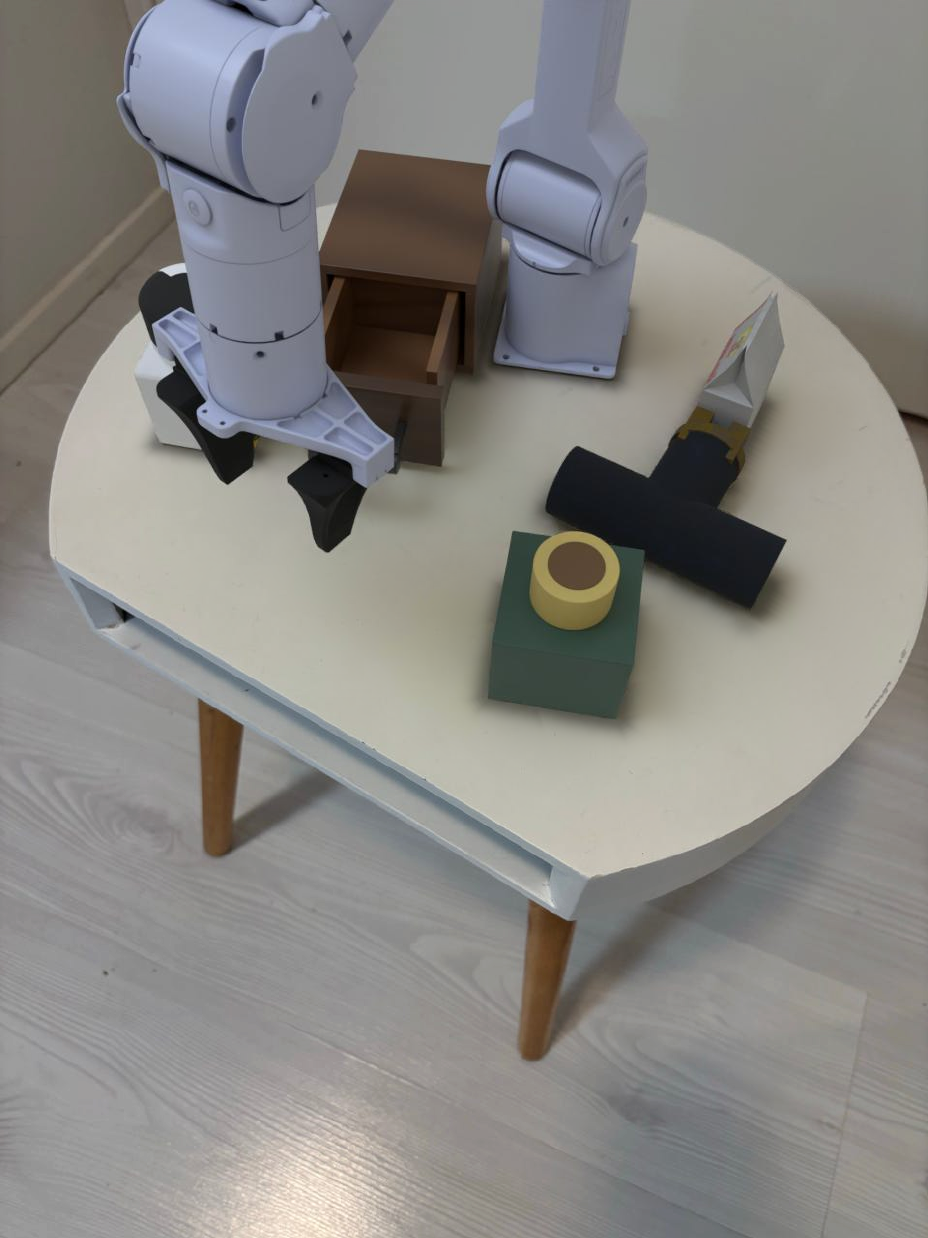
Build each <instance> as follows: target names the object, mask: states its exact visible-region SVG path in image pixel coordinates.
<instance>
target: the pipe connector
mask: <svg viewBox="0 0 928 1238" xmlns="http://www.w3.org/2000/svg"><path fill="white" fill-rule="evenodd" d="M714 414H715V413H713V412H711V411H708V410H706V409H704V408H701V407H699V406H697V405H696V406H695V408H694V409H693V411H692V413H691V414H690V415H689V417H688V419H687V420H686V422H685V423H683V424H681V425H680V426H679V427H678V428H677V429H676V430H675V431H674V433H673V435H671V437H670V440H669V441H668V444H667V449H666V450H665V452H664V453H663V455H662V456H661V458H659V461H658V463H657V464H656V465H655V466H654V468H653V470H652V472H651V473H650V475H649V477H648V476H646V475H644V474H642V473H639V472H637V471H635V470H633V469H631V468H628V467H626V466H624V465H621V464H620V463H617V462H615V461H613V460H610V459H609V458H606V457H604V456H602V455H600V454H598V453H595V452H593V451H591V450H588V449H586V448H584V447H581V446H579V445H575V446H574V447H573V448H572V449H571V450H570V451H569V452H568V453H567V455H566V456H565V457H564V459H563V460H562V462H561V464H560V465H559V467H558V470H557V471H556V474H555V475H554V478H553V480H552V483H551V485H550V487H549V490H548V492H547V496H546V500H545V513H546V514H548V515H550V516H552V517H554V518H556V519H559V520H561V521H563V522H564V523H567V524H569V525H571V526H573V527H575V528H577V529H580V530H582V531H583V532H585V533H589V534H592V535H594V536H596V537H598V538H600V539H602V540H603V541H604V542H606V543H609V544H610V545H613V546H620V547H627V548H633V549H640V550H644V551H645V555H644V561H647V562H649V563H651V564H653V565H655V566H658V568H659V567H660V568H661V569H664V570H666V571H667V572H670V573H672V574H674V575H677V576H679V577H681V578H683V579H685V580H687V581H689V582H691V583H693V584H695V585H698V586H700V587H702V588H703V589H705V590H708V591H711V592H712V593H714V594H717V595H718V596H721V597H723V598H725V599H726V600H729V601H731V602H733V603H736V604H738V605H740V606H741V607H744V608H746V609H749V610H752V609H753V607H754V605H755V603H756V601H757V599H758V597H759V595H760V594H761V592H762V590H763V588H764V586H765V584H766V582H767V580H768V578H769V577H770V574H771V573H772V570H773V569H774V567H775V565H776V563H777V561H778V559H779V557H780V555H781V553H782V551H783V549H784V547H785V545H786V543H787V541H788V539H786V538H784V537H781V536H779V535H777V534H775V533H773V532H770V531H768V530H766V529H763V528H761V527H760V526H757V525H755V524H753V523H751V522H749V521H745V520H744V519H741V518H739V517H737V516H735V515H732V514H731V513H728V512H727V511H724V510H722V509H719V506H720V504H721V502H722V501H723V499H724V497H725V496H726V494H727V492H728V490H729V488H730V487H731V485H733V484H734V483H735V482H736V480H737V479H738V477H739V476H740V474H741V472H742V470H743V469H744V467H745V464H746V454H745V451H744V447H745V445H746V443H747V441H748V439H749V436H750V433H751V431H752V427H751V428H748V427H746V426H744V425H741V424H739V423H737V422H734V421H733V422H732V423H731V425H730V427H729V428H728V430H725V429H724V428H722V427H720V426H718V425H715V424H712V420H713V417H714Z"/></svg>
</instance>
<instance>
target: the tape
mask: <svg viewBox="0 0 928 1238" xmlns="http://www.w3.org/2000/svg"><path fill="white" fill-rule="evenodd" d="M551 536H552V537H550V538H549V539H547V540H546V541H545V542H543V543H542V544H541V546H540V547H539V548H538V550H537V551H536V554H535V556H534V560H533V567H532V575H531V583H530V591H529V594H530V600H531V603H532V606H533V608H534V610H535V611H536V612H537V614H538V615H539V616H540V617H541V618H542V619H543V620H545V621H546V622H547V623H549V624H551V625H553V626H555V627H558V628H561V629H566V630H581V629H586V628H589V627H592V626H594V625H595V624H597V623H599V622H600V621H601V620H602V619H603V618H604V617H605V616H606V615H607V614H608V612H609V610H610V608H611V605H612V601H613V598H614V594H615V590H616V587H617V583H618V579H619V575H620V565H619V561H618V558H617V556H616V554H615V552H614V551H613V549H612V548H611V547H610V546H609V545H610V544H608V542H607V541H605V540H603V539H600V538H598V537H596V536H594V535H592V534H590V533H588V532H586V531H578V530H575V531H574V530H570V531H563V532H559V533H557V534H554V535H551Z"/></svg>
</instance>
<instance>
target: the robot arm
mask: <svg viewBox="0 0 928 1238" xmlns="http://www.w3.org/2000/svg"><path fill="white" fill-rule="evenodd" d="M542 1H543V2H542V11H541V23H540V34H539V43H538V55H537V65H536V76H535V85H534V95H533V97H531V98H529V99H527V100H525V101H524V102H522V103H520V105H518V106H517V107H516V108H515V109H514V110H512V111H511V113H509V115H508V116H507V117H506V118H505V120H504V121H503V123H502V124H501V125H500V127H499V129H498V135H497V141H496V147H495V151H494V156H493V160H492V162H491V164H490V165H491V167H490V170H489V174H488V179H487V185H486V198H487V204H488V209H489V212H490V214H491V216H492V217H493V218H494V219H496V220H499V221H502V239H504V240H506V241H507V242H508V243H509V254H508V255H509V257H508V270H507V271H508V273H507V285H506V287H507V288H506V296H505V301H504V306H503V311H502V313H501V314H502V315H501V319H500V324H499V328H498V332H497V336H496V341H495V346H494V350H493V354H492V362H494V363H495V364H497V365H505V366H512V367H519V368H526V369H534V370H541V371H548V372H549V371H550V372H554V373H555V372H556V373H564V374H570V375H578V376H584V377H593V378H600V379H605V380H607V379H608V380H610V379H613V378H615V375H616V370H617V364H618V360H619V354H620V349H621V345H622V344H621V343H622V339H623V336H626V334H627V331H628V325H629V319H630V311H629V310H628V308H629V303H630V298H631V293H632V292H631V291H632V288H633V281H634V276H635V275H634V274H635V270H636V269H635V268H636V262H637V255H638V245H639V244H638V243H636V242H633V239H634V237H635V236H636V233H637V231H638V229H639V226H640V224H641V222H642V218H643V216H644V212H645V209H646V204H647V199H648V188H647V180H646V178H647V167H648V154H649V145H648V144H647V143H646V140H645V139H644V138H643V137H642V136H641V134H640V133H639V132H638V130H637V129H636V128H635V126H634V125H633V123H632V122H631V121H630V120H629V118H627V116H626V115H625V114H624V112H623V111H622V110H621V108H620V107H619V105H618V103H617V102H616V97H617V96H616V95H617V89H618V84H619V78H620V72H621V66H622V59H623V53H624V49H625V48H624V47H625V42H626V37H627V36H626V35H627V30H628V24H629V17H630V11H631V6H632V0H542ZM394 2H395V0H163V1H162V2H161V3H158V4H156V5H154V6H153V7H151V8H150V9H149V10H148V11H147V12H146V13H145V14H143V16H142V17H141V18H140V20H139V21H138V22H137V24H136V26H135V27H134V30H133V31H132V33H131V35H130V38H129V41H128V44H127V47H126V51H125V55H124V56H125V57H124V62H123V63H124V64H123V84H124V87H123V92H122V93H120V94H119V95H117V97H116V106H117V109H118V113H119V115H120V117H121V120H122V122H123V124H124V126H125V128H126V130H127V132H128V133H129V134H130V136H131V137H132V139H133V140H134V141H135V142H137V144H139V146H141V147H142V148H144V149H145V150H147V152H149V154H150V155H151V157H152V158H153V160H154V163H155V166H156V170H157V175H158V180H159V184H160V188H161V189H163V190H165V191H167V193H168V194H169V195H171V199H172V203H173V209H174V214H175V220H176V223H177V224H176V226H177V229H178V230H177V231H178V235H179V240H180V244H181V250H182V255H183V256H182V257H183V261H184V263H185V266H186V271H187V276H188V281H189V287H190V292H191V297H192V302H193V307H194V311H195V314H193V313H191V312H189V311H187V310H185V309H183V308H182V307H180V308H178V309H176V310H175V311H173V312H171V313H170V314H168V315H167V316H165V317H163V318H162V319H160V320H158V321H157V322H155V323H153V324H152V328H153V332H154V336H155V340H156V344H157V349H158V353H159V355H161V356H163V357H164V358H166V359H167V360H169V361H175V365H176V366H173V372H172V373H170V374H169V375H167V376H166V377H164V378H163V379H161V380H160V381H159V382H158V384H157V386H156V392H157V396H158V398H160V399H161V400H162V401H163V402H164V403H165V404H166V405H168V406H169V407H170V408H171V409H172V410H173V411H174V412H175V413H176V415H177V416H178V417H179V418H180V419H181V420H182V421H183V423H184V424H185V425H186V426H187V428H188V429H189V430H190V432H191V433H192V435H193V436H194V438H195V439H196V441H197V442H198V444H199V446H200V447H201V449H202V450H201V451H202V453H203V455H204V456H205V458H206V460H207V462H208V463H209V465H210V467H211V469H212V470H213V472H214V474H215V475H216V476H217V478H218V479H219V481H221V483H224V484H225V485H226V486H229V485H230V484H231V483H233V482H234V481H235V480H237V479H238V478H239V477H241V476H242V475H243V474H245V473H246V472H248V471H249V470H251V469H252V468H253V467H254V461H255V450H254V439H253V434H257V435H260V437H265V438H268V439H272V440H275V441H278V442H282V443H284V444H285V443H286V444H290V445H292V446H296V447H299V448H303V449H307V450H308V449H310V450H313V451H317V452H318V455H316V456H313V457H312V458H310V459H309V460H306V461H305V462H304V463H303V464H302V465H300V466H299V467H298V468H296V469H295V470H293V471H292V472H291V473H290V474H289V475H287V477H286V480H287V484H288V485H289V486H291V487H292V488H293V489H294V491H295V492H296V493H297V494H298V496H299V497H300V499H301V500H302V503H303V505H304V506H305V509H306V511H307V514H308V518H309V522H310V528H311V533H312V537H313V540H314V543H315V545H316V547H317V548H319V549H320V550H321V551H322V552H324V553H325V554H329V553H331V552H332V551H333V550H334V549H335V548H337V547H338V546H339V545H340V544H341V543H342V542H344V541H345V540H346V539H347V538H348V537H349V536H350V535H351V534H352V531H353V527H354V523H355V520H356V517H357V515H358V511H359V508H360V506H361V503H362V501H363V498H364V497H365V494H366V492H367V490H368V489H369V488H371V487H372V486H373V485H374V484H375V483H377V482H378V481H380V480H381V479H382V478H384V476H385V475H387V474H388V473H387V472H388V471H390V470H391V469H392V468H393V467H394V438H393V437H391V436H390V435H388V434H387V433H385V432H384V431H382V430H381V429H380V428H379V427H378V426H377V425H376V424H375V423H374V422H373V421H372V420H371V419H370V418H369V417H368V416H367V414H366V413H365V412H364V410H363V409H362V408H361V407H360V405H359V404H358V403H357V402H356V400H355V399H354V398H353V397H352V395H351V394H350V393H349V391H348V390H347V389H346V388H345V386H344V385H343V384H342V383H341V381H340V380H339V379H338V377H337V376H336V375H335V374H334V372H333V371H332V370H331V369H330V367H329V366H328V365H327V363H326V352H325V337H324V322H323V306H322V293H321V278H320V262H319V251H320V248H319V247H320V246H319V233H318V232H319V231H318V217H317V203H316V202H317V201H316V185H315V184H316V182H317V181H318V179H319V178H320V177H321V176H322V175H323V173H324V172H326V170H327V169H328V168H329V166H330V164H331V163H332V160H333V158H334V155H335V153H336V150H337V147H338V144H339V141H340V138H341V134H342V129H343V123H344V118H345V112H346V108H347V104H348V102H349V100H350V98H351V96H352V95H353V93H354V91H355V89H356V88H355V83H356V81H357V80H358V72H357V70H356V68H355V67H356V66H355V65H354V63H355V61H356V60H357V58H358V57H359V55H360V54H361V52H362V51H363V49H364V48H365V46H366V44H367V43H368V42H369V40H370V39H371V37H372V35H373V34H374V33H375V31H376V29H377V28H378V26H379V25H380V23H381V22H382V20H383V19H384V18H385V16H386V14H387V13H388V11H389V10H390V9H391V6H392V5H393V3H394Z"/></svg>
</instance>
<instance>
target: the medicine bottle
mask: <svg viewBox="0 0 928 1238" xmlns="http://www.w3.org/2000/svg"><path fill="white" fill-rule="evenodd" d="M137 297H138V299H137V304H138V307H139V310H140V313H141V315H142V319H143V322H144V325H145V327H146V330H147V333H148V337H149V339H150V340H149V341H148V343H147V345H146V347H145V349H144V351H143V353H142V355H141V356H140V359H139V360H138V363H137V364H136V366H135V369H134V370H133V377H134V379H135V382H136V384H137V387H138V390H139V392H140V395H141V397H142V400H143V403H144V405H145V408H146V410H147V413H148V415H149V419H150V421H151V424H152V426H153V430H154V432H155V434H156V437H157V440H158V441H159V442H160V443H161V444H166V445H171V446H178V447H183V448H190V449H195V450H200V451H202V449H201V447H200V446H199V444H198V442H197V441H196V439H195V438H194V436H193V435H192V433H191V432H190V430H189V429H188V428H187V426H186V425H185V424H184V423H183V421H182V420H181V419H180V418H179V417H178V416H177V415H176V413H175V412H174V411H173V410H172V409H171V408H170V407H169V406H168V405H166V404H165V403H164V402H163V401H162V400H161V399H160V398H158V396H157V392H156V386H157V384H158V382H159V381H160V380H161V379H163V378H164V377H166V376H167V375H169V374H170V373H172V372H173V366H176V365H175V361H169V360H167V359H166V358H164V357H163V356H161V355H159V353H158V349H157V344H156V340H155V336H154V332H153V328H152V324H153V323H155V322H157V321H158V320H160V319H162V318H163V317H165V316H167V315H168V314H170V313H171V312H173V311H175V310H176V309H178V308H180V307H182V308H183V309H185V310H187V311H189V312H191V313H193V314H195V311H194V307H193V302H192V297H191V292H190V287H189V281H188V276H187V271H186V266H185V262H181V263H180V262H179V263H174V264H171V265H168V266H165V267H163V268H160V269H159V270H157V271H156V272H155V273H153V274H152V275H150V277H148V278H147V280H146V281H145V283H144V284H143V285H142V287H141V289H140V291H139V293H138V296H137ZM260 438H261V436H260V435H257V434H253V439H254V451H255V450H256V448H257V445H258V442H259V440H260Z"/></svg>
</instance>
